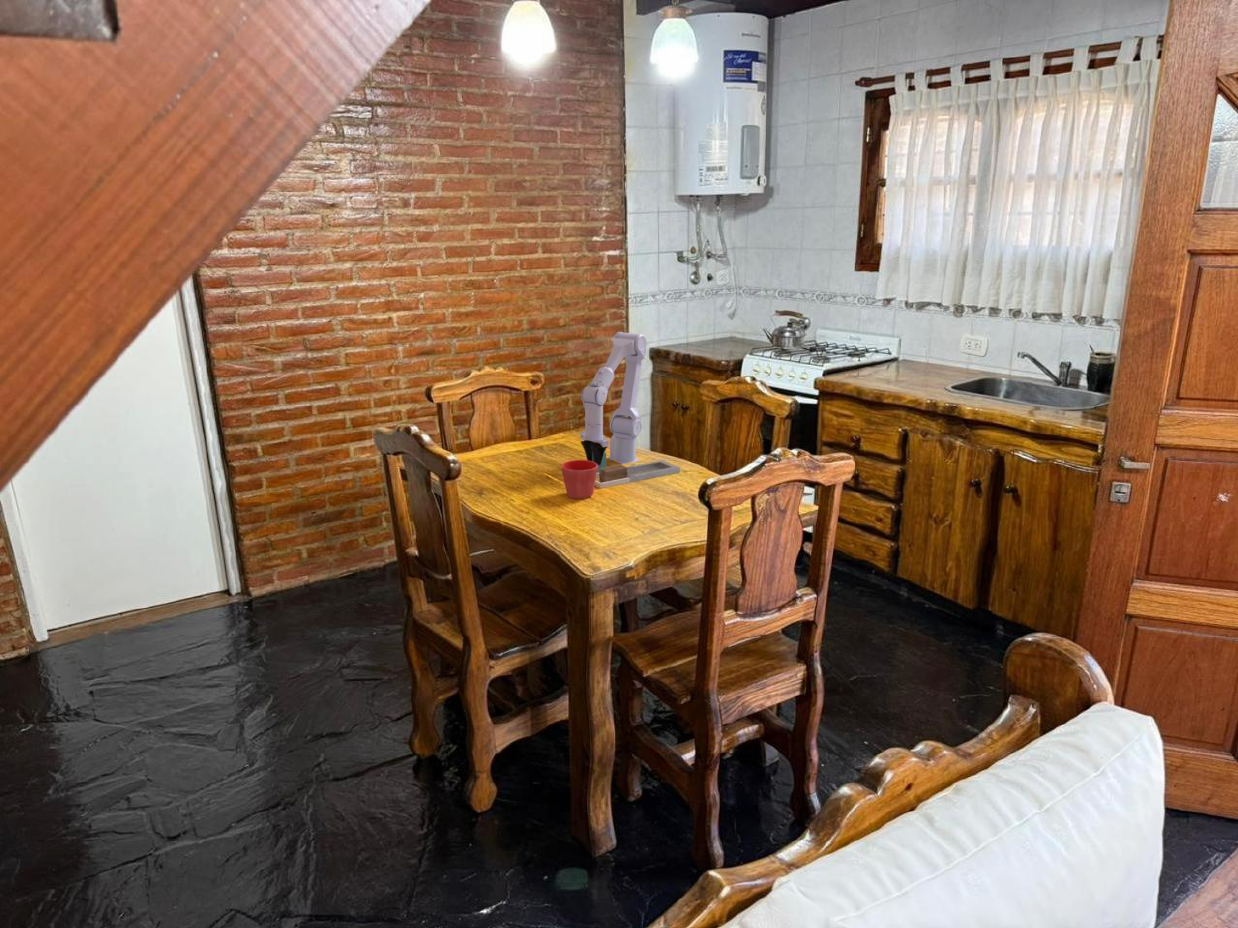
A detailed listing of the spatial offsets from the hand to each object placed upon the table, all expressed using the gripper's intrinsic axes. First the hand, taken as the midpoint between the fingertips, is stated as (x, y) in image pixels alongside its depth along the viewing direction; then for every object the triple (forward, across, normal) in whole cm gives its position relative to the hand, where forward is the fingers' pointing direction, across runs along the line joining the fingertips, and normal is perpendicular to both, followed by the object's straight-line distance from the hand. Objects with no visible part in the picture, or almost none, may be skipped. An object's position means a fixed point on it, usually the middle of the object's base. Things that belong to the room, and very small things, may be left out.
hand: (594, 463), depth 273 cm
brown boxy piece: (+3, +10, -1) cm, 11 cm away
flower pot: (+4, +16, -15) cm, 22 cm away
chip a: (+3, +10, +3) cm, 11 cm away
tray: (+4, +10, -2) cm, 11 cm away
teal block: (+3, 0, +2) cm, 4 cm away
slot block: (+4, +10, +14) cm, 18 cm away
